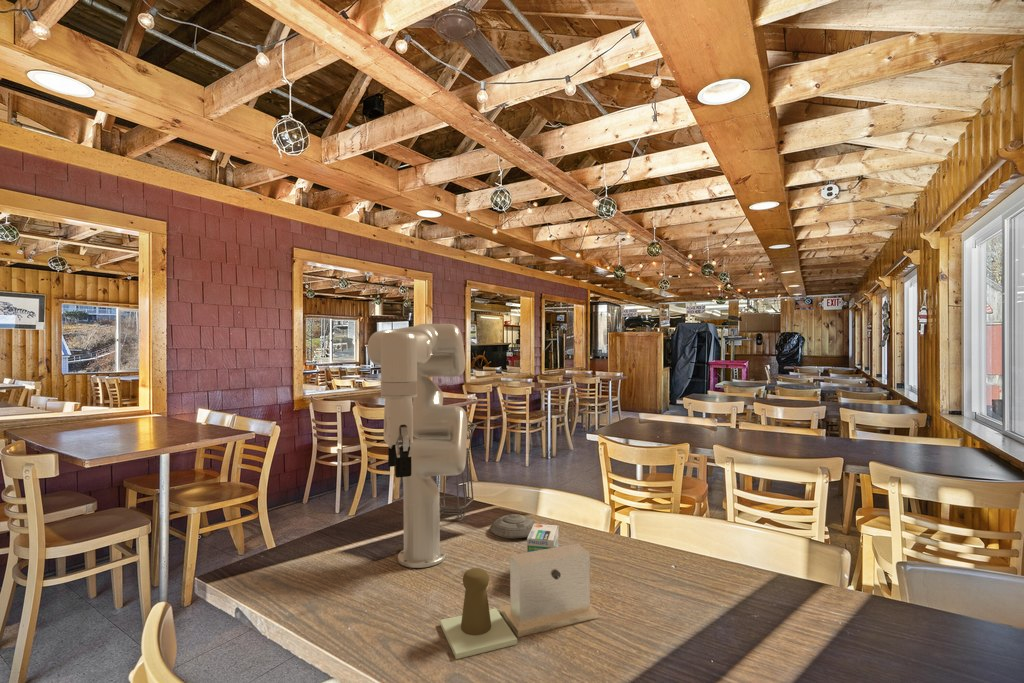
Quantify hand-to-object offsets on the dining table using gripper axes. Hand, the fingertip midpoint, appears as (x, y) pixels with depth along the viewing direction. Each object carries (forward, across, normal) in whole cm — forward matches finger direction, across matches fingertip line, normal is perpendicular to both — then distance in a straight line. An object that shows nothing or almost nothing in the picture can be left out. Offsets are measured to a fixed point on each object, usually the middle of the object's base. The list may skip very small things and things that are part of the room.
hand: (399, 471), depth 105 cm
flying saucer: (+31, -34, +40) cm, 61 cm away
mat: (+30, +13, +13) cm, 35 cm away
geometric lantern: (+31, -56, +26) cm, 69 cm away
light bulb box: (+31, -5, +36) cm, 48 cm away
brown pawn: (+30, +12, +13) cm, 34 cm away
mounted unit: (+30, +12, +29) cm, 44 cm away
